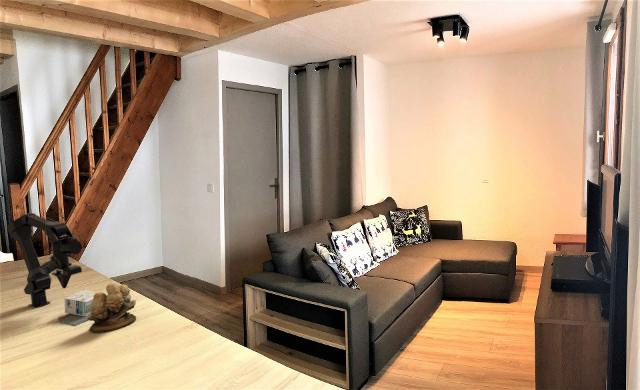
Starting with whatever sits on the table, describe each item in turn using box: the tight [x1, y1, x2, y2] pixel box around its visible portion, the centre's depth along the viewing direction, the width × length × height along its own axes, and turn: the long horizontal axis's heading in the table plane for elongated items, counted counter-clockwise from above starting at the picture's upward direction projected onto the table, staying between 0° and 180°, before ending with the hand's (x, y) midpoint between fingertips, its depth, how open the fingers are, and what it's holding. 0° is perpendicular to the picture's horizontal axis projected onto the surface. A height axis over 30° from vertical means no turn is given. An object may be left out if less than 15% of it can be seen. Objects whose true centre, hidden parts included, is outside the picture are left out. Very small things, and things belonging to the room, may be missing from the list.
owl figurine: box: [88, 282, 137, 334], centre depth 173 cm, size 18×12×17 cm, turn 136°
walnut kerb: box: [57, 313, 74, 321], centre depth 188 cm, size 1×16×1 cm, turn 152°
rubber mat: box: [57, 314, 92, 327], centre depth 185 cm, size 11×18×1 cm, turn 152°
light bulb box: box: [64, 289, 99, 317], centre depth 188 cm, size 11×7×11 cm
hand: (64, 288), depth 192 cm, fingers closed
